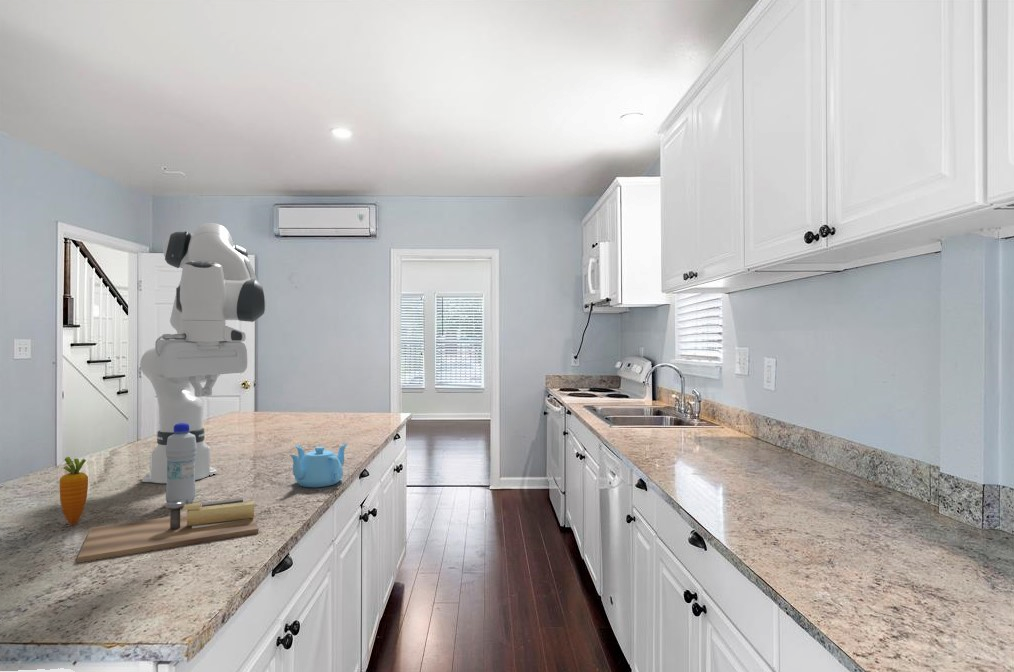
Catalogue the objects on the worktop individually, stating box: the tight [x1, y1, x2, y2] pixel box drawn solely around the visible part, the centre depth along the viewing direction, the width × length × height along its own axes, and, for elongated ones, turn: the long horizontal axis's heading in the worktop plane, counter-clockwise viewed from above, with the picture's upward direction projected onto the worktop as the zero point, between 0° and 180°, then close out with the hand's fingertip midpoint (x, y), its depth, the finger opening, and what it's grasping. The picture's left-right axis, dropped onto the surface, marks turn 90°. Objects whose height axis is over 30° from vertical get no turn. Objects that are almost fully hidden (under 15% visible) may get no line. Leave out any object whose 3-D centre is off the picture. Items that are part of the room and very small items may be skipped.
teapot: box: [289, 442, 349, 488], centre depth 153 cm, size 15×15×10 cm
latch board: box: [77, 497, 260, 563], centre depth 113 cm, size 18×30×5 cm, turn 121°
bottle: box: [165, 423, 197, 504], centre depth 133 cm, size 7×7×20 cm
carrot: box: [59, 456, 89, 527], centre depth 117 cm, size 5×5×15 cm
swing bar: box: [165, 500, 255, 526], centre depth 116 cm, size 17×4×5 cm, turn 116°
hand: (203, 396), depth 119 cm, fingers closed
